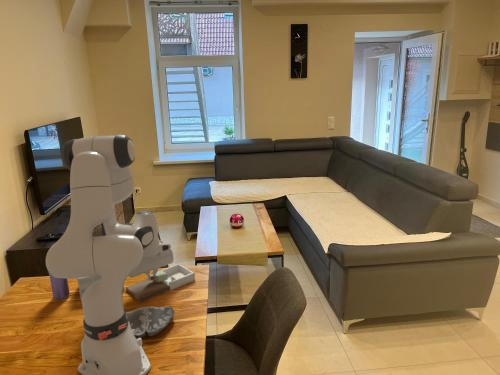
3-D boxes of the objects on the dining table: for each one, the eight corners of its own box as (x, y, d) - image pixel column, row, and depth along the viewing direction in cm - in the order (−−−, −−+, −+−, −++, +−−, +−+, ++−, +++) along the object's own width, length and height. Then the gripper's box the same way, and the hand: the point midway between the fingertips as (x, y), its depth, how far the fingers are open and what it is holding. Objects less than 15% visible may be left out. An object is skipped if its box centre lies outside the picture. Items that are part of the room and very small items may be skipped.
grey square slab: (170, 290, 153) (170, 286, 153) (140, 302, 145) (140, 298, 144) (155, 279, 162) (154, 276, 162) (126, 290, 154) (126, 286, 154)
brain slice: (115, 348, 119) (114, 340, 119) (118, 318, 135) (117, 311, 135) (177, 336, 124) (176, 328, 124) (173, 309, 140) (172, 301, 140)
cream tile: (186, 281, 159) (185, 276, 159) (177, 284, 156) (176, 279, 156) (180, 277, 163) (180, 272, 162) (171, 281, 160) (171, 276, 159)
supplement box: (122, 276, 166) (119, 257, 164) (124, 290, 155) (122, 269, 152) (80, 284, 160) (77, 264, 158) (80, 299, 148) (76, 278, 146)
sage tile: (167, 279, 159) (167, 274, 159) (158, 282, 156) (158, 276, 156) (162, 276, 163) (162, 270, 162) (152, 278, 160) (152, 273, 159)
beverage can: (65, 300, 148) (59, 265, 144) (50, 300, 148) (44, 266, 144) (72, 292, 153) (67, 259, 150) (58, 293, 154) (52, 259, 150)
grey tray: (194, 280, 161) (194, 272, 160) (170, 290, 153) (169, 282, 152) (179, 270, 170) (178, 263, 169) (155, 279, 162) (154, 272, 161)
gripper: (128, 258, 144) (131, 291, 148) (174, 243, 158) (176, 273, 161) (121, 254, 149) (125, 285, 152) (166, 239, 162) (169, 268, 166)
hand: (151, 279), depth 157 cm, fingers closed
